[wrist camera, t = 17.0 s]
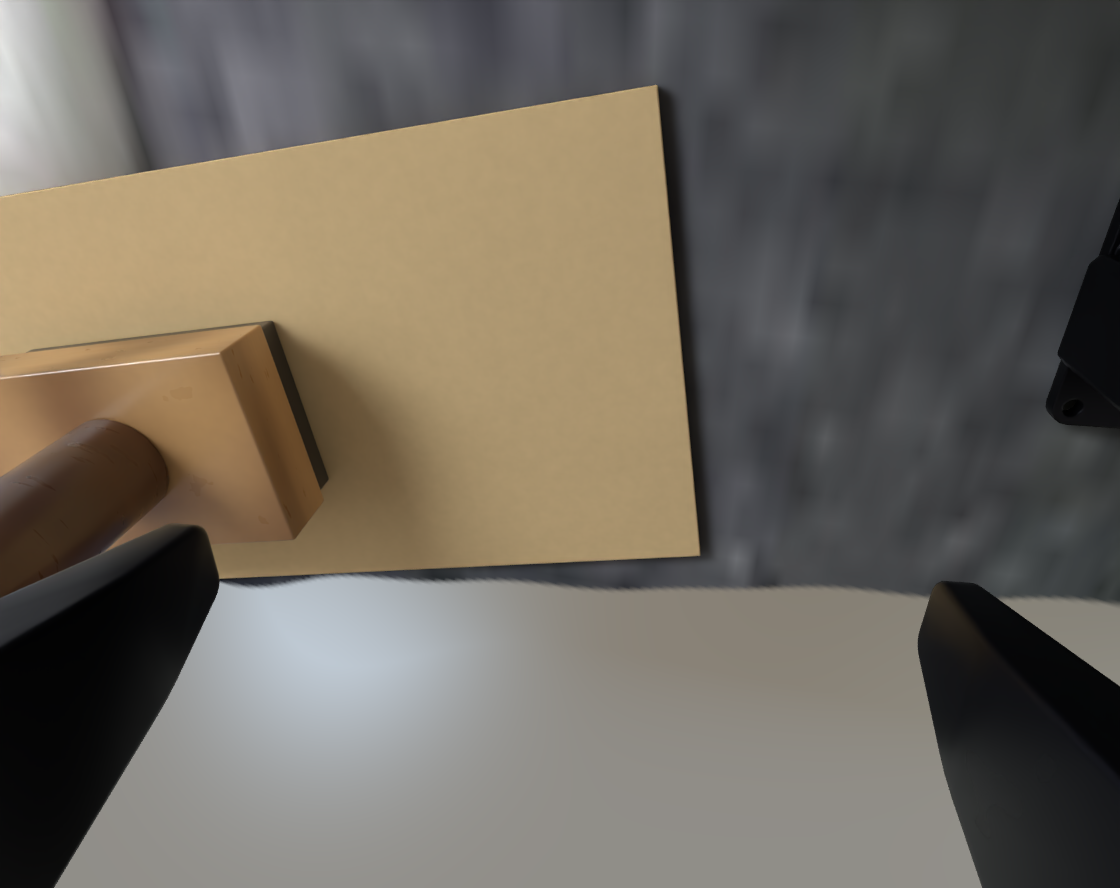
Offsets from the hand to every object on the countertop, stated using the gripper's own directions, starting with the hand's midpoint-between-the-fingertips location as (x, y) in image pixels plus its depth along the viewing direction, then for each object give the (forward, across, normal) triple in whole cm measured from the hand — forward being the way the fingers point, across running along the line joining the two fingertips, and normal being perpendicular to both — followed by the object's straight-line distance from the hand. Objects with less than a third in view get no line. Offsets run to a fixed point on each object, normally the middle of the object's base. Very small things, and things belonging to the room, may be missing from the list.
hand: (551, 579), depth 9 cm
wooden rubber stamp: (+13, +14, +5) cm, 20 cm away
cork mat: (+13, +9, +4) cm, 16 cm away
